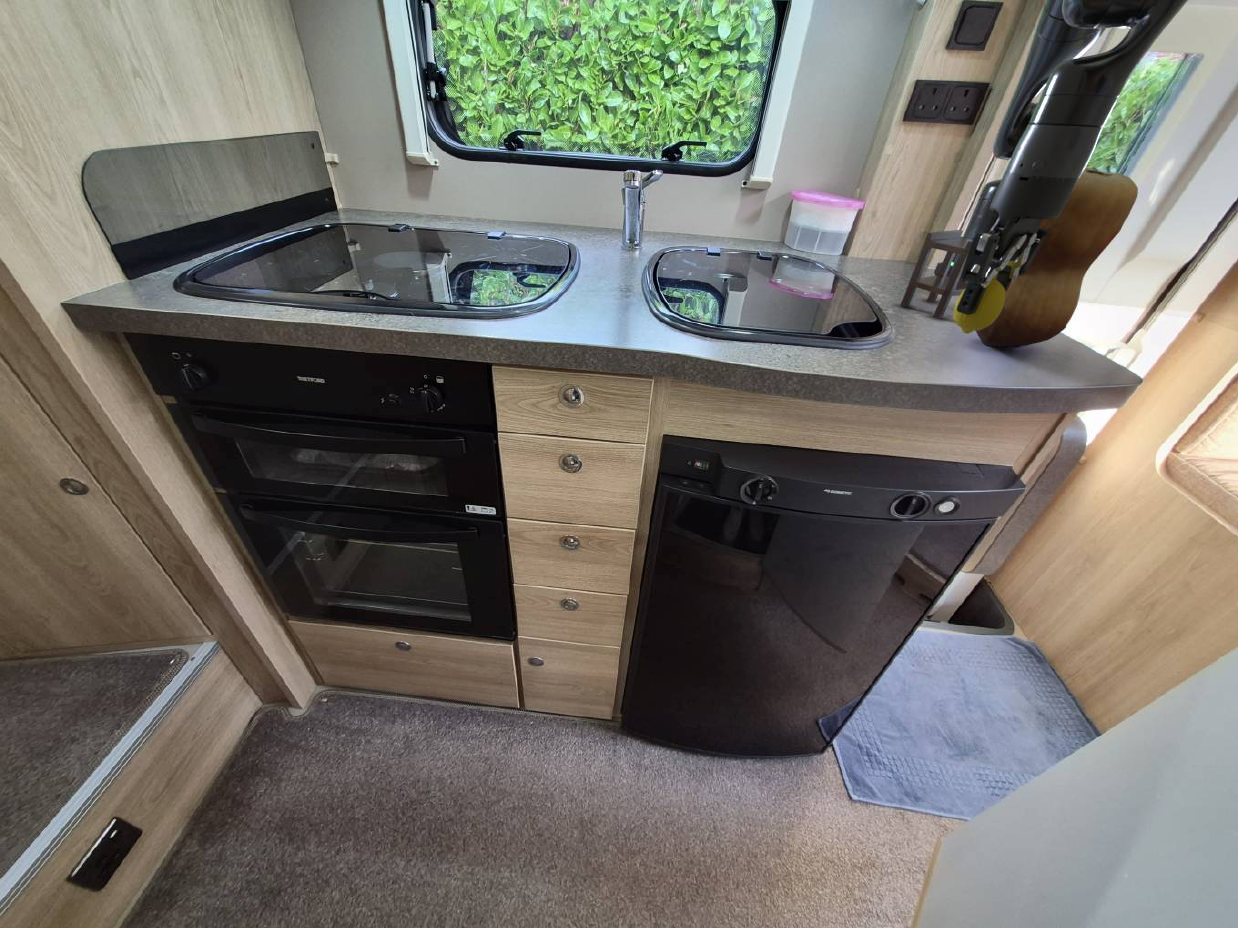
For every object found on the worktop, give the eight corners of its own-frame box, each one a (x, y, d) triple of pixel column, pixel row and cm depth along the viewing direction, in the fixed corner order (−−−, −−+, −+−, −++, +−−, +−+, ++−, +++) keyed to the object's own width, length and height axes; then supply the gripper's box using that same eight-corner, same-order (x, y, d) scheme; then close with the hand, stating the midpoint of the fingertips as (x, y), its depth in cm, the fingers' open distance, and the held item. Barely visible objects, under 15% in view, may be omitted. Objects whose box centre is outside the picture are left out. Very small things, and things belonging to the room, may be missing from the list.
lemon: (939, 332, 71) (964, 275, 66) (951, 323, 74) (976, 269, 69) (981, 344, 68) (1011, 285, 63) (992, 334, 71) (1021, 278, 66)
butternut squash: (1050, 369, 73) (1167, 176, 58) (950, 346, 79) (1033, 165, 64) (1045, 342, 83) (1145, 170, 68) (956, 323, 88) (1030, 161, 74)
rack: (899, 306, 96) (927, 232, 88) (929, 300, 100) (959, 229, 92) (938, 319, 90) (972, 242, 82) (968, 312, 94) (1003, 238, 87)
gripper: (1038, 167, 64) (978, 296, 74) (978, 168, 58) (921, 308, 68) (1106, 173, 59) (1031, 311, 69) (1048, 176, 53) (975, 326, 63)
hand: (977, 309), depth 69 cm, fingers closed on lemon, 5 cm apart
